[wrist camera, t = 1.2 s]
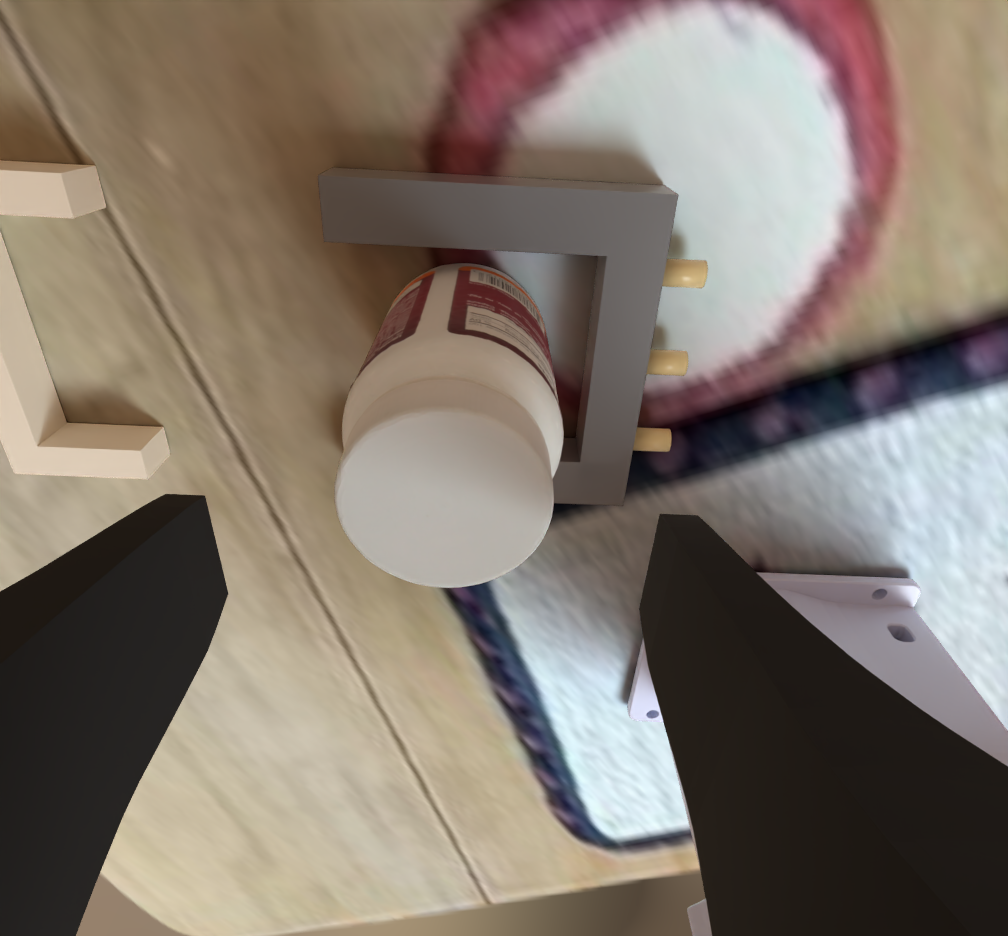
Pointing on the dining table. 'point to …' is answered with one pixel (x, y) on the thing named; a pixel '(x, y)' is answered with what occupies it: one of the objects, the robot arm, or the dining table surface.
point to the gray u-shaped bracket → (559, 230)
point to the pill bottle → (452, 432)
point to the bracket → (21, 364)
